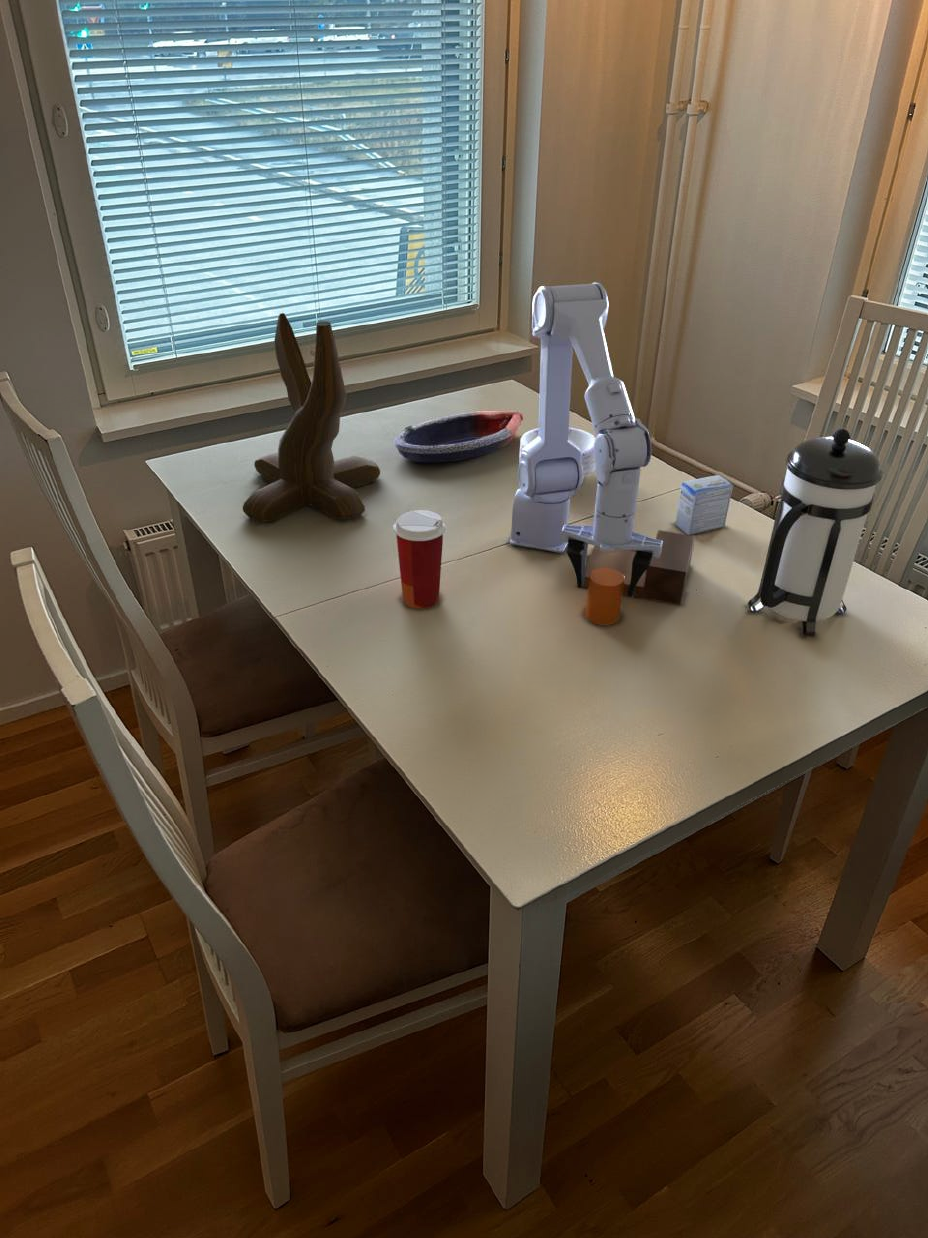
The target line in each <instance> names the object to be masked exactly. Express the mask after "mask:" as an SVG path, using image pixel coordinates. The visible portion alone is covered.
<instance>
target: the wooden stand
mask: <svg viewBox="0 0 928 1238" xmlns="http://www.w3.org/2000/svg"><path fill="white" fill-rule="evenodd" d="M315 328H316V329H315V346H314V358H313V360H314V361H313V373H312V380H311V378H310V375H309V373H308V370H307V367H306V363H305V360H304V358H303V354H302V351H301V348H300V346H299V343H298V341H297V338H296V335H295V332H294V329H293V328H292V325H291V323H290V321H289V320H288V318H287V315H286V314H285V313H284V312H281V313H279V315H278V317H277V321H276V329H275V334H274V339H273V340H274V348H275V356H276V360H277V361H276V362H277V364H278V368H279V372H280V376H281V377H280V378H282V382H283V383H284V385H285V388H286V392H287V393H286V394H287V398H288V401H289V404H290V406H291V408H292V410H293V411H292V412H293V413H292V418H291V420H290V422H289V423H288V425H287V427H286V429H285V430H284V432H283V434H282V435H281V437H280V439H279V442H278V447H277V452H274V453H273V452H272V453H269V454H266V455H263V456H261V457H259V458H257V459H255V460H254V464H253V465H254V469H255V471H256V472H257V473H258V474H259V475H260V476H261V477H262V478H263V479H265V480H267V481H269V482H270V484H267V485H266V486H263V487H261V488H259V489H257V490H255V491H254V492H252V493H251V494H250V495H249V497H248V498H247V499H246V500H245V501H244V502H243V505H242V511H243V513H244V515H246V516H247V517H248V518H249V519H251V520H254V521H256V522H263V523H264V522H272V521H276V520H278V519H280V518H282V517H284V516H286V515H287V514H289V513H292V512H293V511H295V510H296V509H299V508H300V507H302V506H313V507H315V508H316V509H317V510H319V511H321V512H323V513H325V514H326V515H328V516H330V517H332V518H334V519H337V520H342V521H343V520H350V519H355V518H356V517H358V516H361V515H362V514H363V513H365V511H366V506H365V504H364V503H363V501H362V499H361V497H360V495H359V494H358V492H357V490H356V489H355V488H358V487H361V486H366V485H368V484H370V483H372V482H373V481H375V480H377V479H378V478H379V477H380V475H381V470H380V467H379V465H378V464H377V463H376V462H375V461H374V460H372V459H369V458H366V457H361V456H357V455H352V456H349V457H348V456H347V457H345V458H344V457H343V458H340V459H337V460H335V459H334V458H335V457H334V453H333V444H334V441H335V439H336V438H337V437H338V435H339V433H340V425H341V413H342V411H343V409H344V408H345V406H346V403H347V396H348V393H347V389H346V385H345V381H344V377H343V373H342V367H341V363H340V357H339V354H338V349H337V344H336V340H335V335H334V331H333V328H332V323H331V322H329V321H327V320H326V321H325V320H321V321H317V322H316V327H315Z"/></svg>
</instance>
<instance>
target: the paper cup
mask: <svg viewBox="0 0 928 1238" xmlns="http://www.w3.org/2000/svg"><path fill="white" fill-rule="evenodd" d="M392 529H393V531H394V533H395V535H396V547H397V557H398V565H399V574H400V575H399V576H400V584H401V586H400V587H401V593H402V600H403V603H404V604H405V605H406V606H408V607H410V608H412V609H417V610H424V609H429V608H432V607H434V606H435V605H437V603H438V602H439V598H440V587H441V573H442V572H441V570H442V559H443V557H442V556H443V542H444V541H443V540H444V533H445V531H446V525H445V523H444V521H443V519H442V517H441V516H440V515H439V514H438V513H436V512H433V511H431V510H425V509H414V510H410V511H407V512H404V513H402V514H400V515H399V516H398V518H397V519H396V520H395V523H394V524H393V526H392Z"/></svg>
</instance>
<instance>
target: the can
mask: <svg viewBox="0 0 928 1238" xmlns="http://www.w3.org/2000/svg"><path fill="white" fill-rule="evenodd" d="M623 587H624V575H623V574H622V573H621V572H619V571H617V570H615V569H611V568H599V569H595V570H593V571H592V572H591V573H590V576H589V585H588V588H587V596H586V606H585V617H586V619H587V620H588V621H590V622H591V623H593V624H595V625H600V626H601V625H602V626H608V625H614V624H615V623H617V622H618V621H619V619H620V617H621V610H622V601H623V595H624V594H623Z"/></svg>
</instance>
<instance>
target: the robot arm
mask: <svg viewBox="0 0 928 1238" xmlns="http://www.w3.org/2000/svg"><path fill="white" fill-rule="evenodd" d="M531 309H532V311H531V317H532V318H531V330H532V336H533V337H534V338H537V339H540V364H539V365H540V367H539V398H538V399H539V401H538V403H539V404H538V428H539V430H538V437H537V438H536V439H534V440H533V441H532V442H530V443H529V444H528V445H526V446H525V447H524V448H523V449H522V453H521V460H519V464H518V468H517V479H518V480H517V481H518V485H519V488H518V489H517V490H516V492H515V495H514V498H513V504H512V513H511V516H512V517H511V531H510V532H511V533H510V540H509V544H510V545H511V546H512V545H513V546H517V547H525V548H528V549H529V548H531V549H534V550H535V549H536V550H539V551H540V550H541V551H546V552H552V553H559V554H563V553H564V552H565V551H566V555H567V557H568V559H569V561H570V563H571V565H572V567H573V571H574V574H575V575H574V576H575V579H576V586H577V588H578V589H582V588H583V587H582V586H583V583H584V580H585V569H586V564H587V555H588V548H589V545H592V546H593V547H594V546H597V547H599V548H600V551H602V552H608V553H613V552H614V551H615V550H626V551H632V552H636V553H635V556H634V559H633V562H632V574H631V582H630V586H629V590H628V595H627V597H629V598H633V597H634V596H633V594H634V591H635V587H636V585H637V583H638V581H639V579H640V578H641V576H642V575H643V573H644V572H645V571H646V570H647V568H648V567H649V565H650V563H651V560H652V557H654V558H660V555H661V551H662V545H663V541H662V540H657V539H656V538H653V537H650V536H648V535H644V534H641V533H639V532H635V531H634V523H635V517H636V510H637V509H636V508H637V501H638V493H639V485H640V478H641V473H642V472H641V471H642V469H641V468H645V467H646V466H648V465H649V463H650V461H651V458H652V451H653V448H652V447H653V445H652V440H651V436H650V435H651V434H650V432H649V430H648V428H647V427H646V426H645V425H644V424H643V423H642V422H641V421H642V420H641V419H640V418H637V417H635V414H634V411H633V407H632V404H631V400H630V399H629V395H628V391H627V389H626V386H625V384H624V383H625V382H624V381H623V380H621V379H620V378H617V377H615V376H614V374H613V368H612V363H611V359H610V354H609V350H608V345H607V340H606V336H605V332H604V330H605V327H606V324H607V319H608V313H609V298H608V294H607V290H606V289H605V288H604V285H602V283H601V282H597V281H596V282H592V283H581V284H569V285H567V284H566V285H553V286H547V285H542V286H539V288H538V289H537V291H536V292H535V294H534V296H533V298H532V307H531ZM573 350H574V352H575V355H576V357H577V359H578V362H579V364H580V367H581V370H582V372H583V374H584V377H585V379H586V382H587V384H588V386H587V389H586V390H585V393H584V396H583V397H584V400H585V401H584V402H585V403H586V404H585V405H586V407H587V410H588V414H589V418H590V420H591V424H592V427H593V430H594V434H595V437H596V439H595V442H594V445H593V450H594V458H595V470H594V473H595V474H594V475H595V478H596V479H597V485H596V495H595V503H594V504H595V505H594V511H593V513H594V514H593V523H592V525H571V524H569V518H570V517H569V516H570V506H571V504H570V503H571V498H572V497H575V491H578V490H579V489H580V488H581V486H582V484H583V482H584V478H583V466H582V458H581V451H580V449H579V447H578V446H577V445H576V444H575V443H573V442H572V441H570V440H569V439H568V435H569V428H570V414H571V413H570V411H571V391H572V389H571V388H572V370H573Z"/></svg>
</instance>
